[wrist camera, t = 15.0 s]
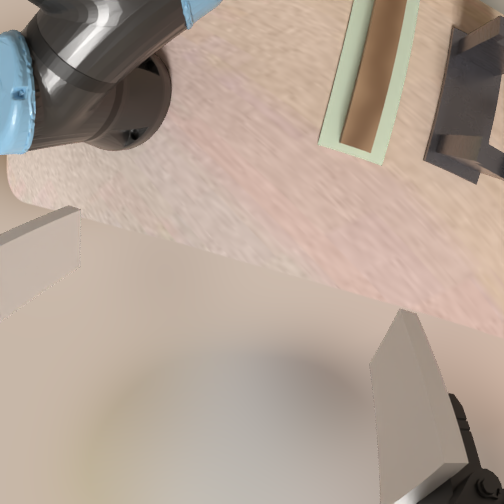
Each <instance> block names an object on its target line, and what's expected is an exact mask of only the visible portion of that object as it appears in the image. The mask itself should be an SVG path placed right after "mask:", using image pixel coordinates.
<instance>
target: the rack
mask: <svg viewBox="0 0 504 504" xmlns="http://www.w3.org/2000/svg"><path fill="white" fill-rule="evenodd" d="M502 74H504V17H502V16H501V15H500V16H498V17H497V18H495V19H493V20H492V21H490V22H488V23H486V24H485V25H483V26H481V27H480V28H478V29H476V30H475V31H473V32H471V33H470V34H466V33H464V32H462V31H461V30H459V29H457V28H455V27H454V28H452V32H451V39H450V46H449V52H448V58H447V63H446V69H445V74H444V79H443V84H442V89H441V93H440V98H439V102H438V107H437V111H436V115H435V119H434V123H433V127H432V131H431V135H430V138H429V142H428V145H427V149H426V152H425V156H424V159H423V160H424V161H426V162H428V163H431V164H433V165H435V166H438V167H440V168H442V169H444V170H446V171H449V172H451V173H453V174H455V175H457V176H459V177H462V178H464V179H466V180H468V181H470V182H472V183H474V184H476V185H477V181H478V178H479V175H480V173H483V174H486V175H489V176H492V177H495V178H498V179H501V180H504V153H503V152H501V151H499V150H498V149H496V148H494V147H493V146H491V145H489V138H490V134H491V130H492V125H493V121H494V116H495V111H496V106H497V100H498V94H499V88H500V82H501V75H502Z"/></svg>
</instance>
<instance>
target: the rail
mask: <svg viewBox="0 0 504 504" xmlns="http://www.w3.org/2000/svg"><path fill="white" fill-rule="evenodd" d="M406 3H407V0H374V4H373V9H372V13H371V18H370V22H369V27H368V31H367V35H366V40H365V44H364V48H363V52H362V56H361V61H360V65H359V69H358V73H357V77H356V80H355V84H354V88H353V92H352V96H351V100H350V103H349V107H348V111H347V115H346V118H345V122H344V125H343V129H342V133H341V136H340V140H339V143H342V144H345V145H348V146H351V147H354V148H357V149H360V150H363V151H366V152H369V153H371V150H372V147H373V144H374V140H375V137H376V133H377V130H378V126H379V122H380V119H381V115H382V111H383V108H384V104H385V100H386V96H387V92H388V88H389V84H390V80H391V76H392V71H393V67H394V63H395V58H396V54H397V49H398V44H399V40H400V35H401V30H402V25H403V20H404V14H405V9H406Z"/></svg>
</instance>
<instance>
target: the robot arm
mask: <svg viewBox="0 0 504 504" xmlns="http://www.w3.org/2000/svg"><path fill="white" fill-rule="evenodd" d="M28 1H30V2H32V3H33V4H35V5H36V6H38V7H39V8H40V10H39V11H38V12H37V14H36V15H35V16H34V17H33V19H32V20H31V21H30V22H29V23H28V25H27V26H26V27H25V29H24V30H23V31H21V32H18V31H17V30H10V31H8V32H3V33H2V34H0V155H5V154H24V153H26V152H27V151H31V150H37V149H42V148H48V147H54V146H60V145H66V144H73V143H79V142H85V143H87V144H90V145H92V146H95V147H97V148H100V149H103V150H108V151H119V150H126V149H131V148H134V147H137V146H139V145H141V144H142V143H144V142H145V141H147V140H148V139H149V138H150V137H151V136H152V135H153V134H154V133H155V132H156V131H157V130H158V128H159V127H160V125H161V124H162V122H163V120H164V118H165V116H166V114H167V111H168V108H169V104H170V98H171V82H170V77H169V74H168V71H167V69H166V67H165V65H164V63H163V62H162V61H161V59H160V58H159V57H158V56H157V55H155V54H154V53H155V52H156V51H157V50H159V49H160V48H161V47H163V46H164V45H165V44H167V43H168V42H169V41H171V40H172V39H173V38H175V37H176V36H177V35H179V34H180V33H182V32H183V31H185V30H186V29H188V30H189V29H190V28H191V27H192V26H193V24H194V23H195V22H196V21H197V20H199V19H200V18H201V17H203V16H204V15H206V14H207V13H208V12H210V11H211V10H213V9H214V8H216V7H217V6H218V5H219V4H220V3H221V2H222V0H28ZM80 225H81V209H78V208H75V207H72V206H66V207H64V208H61V209H58V210H56V211H53V212H51V213H48V214H46V215H44V216H41V217H39V218H36V219H34V220H32V221H29V222H27V223H25V224H22V225H20V226H18V227H15V228H13V229H11V230H9V231H7V232H4V233H2V234H0V323H1V322H2V321H4V320H5V319H6V318H8V317H9V316H10V315H12V314H13V313H14V312H16V311H17V310H18V309H20V308H21V307H23V306H24V305H25V304H27V303H28V302H29V301H31V300H32V299H34V298H35V297H37V296H38V295H39V294H41V293H42V292H44V291H45V290H47V289H48V288H50V287H51V286H53V285H54V284H56V283H57V282H58V281H60V280H62V279H63V278H64V277H66V276H67V275H69V274H71V273H72V272H74V271H75V270H77V269H78V268H80V228H81V226H80ZM369 366H370V374H371V380H372V390H373V398H374V408H375V418H376V428H377V429H376V430H377V442H378V458H379V478H380V504H504V489H502V487H501V483H500V481H499V479H498V477H497V476H496V475H495V474H494V473H493V472H491V471H489V470H488V469H482V468H481V465H480V461H479V457H478V454H477V451H476V447H475V444H474V440H473V437H472V434H471V432H470V431H469V430H470V427H469V425H468V422H467V421H466V415H465V413H464V410H463V407H462V405H461V404H460V402H459V401H458V399H457V398H456V397H455V395H454V394H450V393H448V392H447V389H446V386H445V383H444V381H443V378H442V375H441V373H440V370H439V367H438V364H437V362H436V359H435V357H434V354H433V351H432V349H431V346H430V344H429V342H428V339H427V337H426V334H425V332H424V329H423V327H422V325H421V322H420V320H419V318H418V316H417V314H416V313H412V312H410V311H406V310H403V309H399V311H398V313H397V315H396V317H395V318H394V321H393V322H392V324H391V326H390V328H389V330H388V332H387V334H386V335H385V337H384V339H383V341H382V343H381V345H380V346H379V348H378V350H377V352H376V354H375V355H374V357H373V359H372V360H371V362H370V364H369Z"/></svg>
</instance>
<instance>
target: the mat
mask: <svg viewBox="0 0 504 504" xmlns="http://www.w3.org/2000/svg"><path fill="white" fill-rule="evenodd" d="M419 2H420V0H407V3H406V9H405V14H404V20H403V25H402V30H401V35H400V40H399V44H398V49H397V54H396V58H395V63H394V67H393V71H392V76H391V80H390V84H389V88H388V92H387V96H386V100H385V104H384V108H383V111H382V115H381V119H380V122H379V126H378V130H377V133H376V137H375V140H374V144H373V147H372V150H371V153H369V152H366V151H363V150H360V149H357V148H354V147H351V146H348V145H345V144H342V143H339V140H340V136H341V133H342V129H343V125H344V122H345V118H346V115H347V111H348V107H349V103H350V100H351V96H352V92H353V88H354V84H355V80H356V77H357V73H358V69H359V65H360V61H361V56H362V52H363V48H364V44H365V40H366V35H367V31H368V27H369V22H370V18H371V13H372V9H373V4H374V0H354V3H353V7H352V11H351V16H350V20H349V24H348V28H347V33H346V37H345V41H344V45H343V49H342V53H341V57H340V61H339V65H338V69H337V73H336V77H335V81H334V85H333V89H332V93H331V97H330V100H329V104H328V108H327V112H326V115H325V119H324V123H323V127H322V130H321V134H320V138H319V141H318V145H320V146H324V147H327V148H330V149H333V150H337V151H340V152H343V153H346V154H349V155H352V156H355V157H358V158H361V159H364V160H367V161H370V162H373V163H375V164H378V165H381V166H382V164H383V161H384V157H385V154H386V150H387V147H388V143H389V140H390V136H391V133H392V129H393V125H394V122H395V118H396V114H397V110H398V106H399V102H400V98H401V94H402V90H403V86H404V81H405V77H406V72H407V68H408V63H409V58H410V54H411V49H412V43H413V38H414V33H415V27H416V21H417V15H418V9H419Z"/></svg>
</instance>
